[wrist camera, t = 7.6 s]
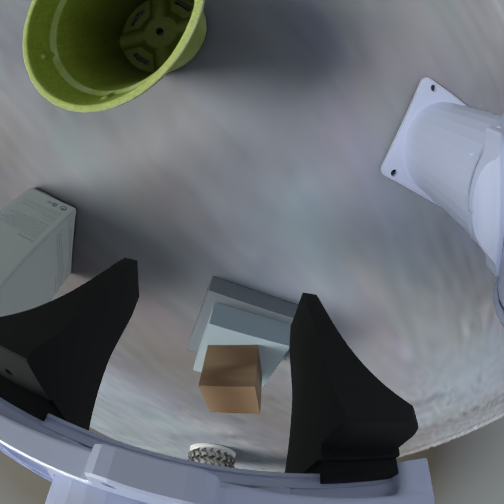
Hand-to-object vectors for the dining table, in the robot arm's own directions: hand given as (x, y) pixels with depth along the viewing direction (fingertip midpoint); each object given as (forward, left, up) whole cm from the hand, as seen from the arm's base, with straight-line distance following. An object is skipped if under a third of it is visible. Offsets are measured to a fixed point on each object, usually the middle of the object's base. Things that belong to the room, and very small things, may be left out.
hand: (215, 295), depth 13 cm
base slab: (-4, +11, -11) cm, 16 cm away
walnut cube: (-4, +11, -6) cm, 13 cm away
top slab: (-4, +11, -9) cm, 15 cm away
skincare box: (+16, +9, -11) cm, 21 cm away
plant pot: (+9, -10, -11) cm, 17 cm away
